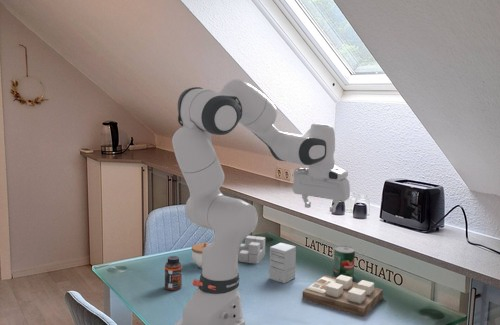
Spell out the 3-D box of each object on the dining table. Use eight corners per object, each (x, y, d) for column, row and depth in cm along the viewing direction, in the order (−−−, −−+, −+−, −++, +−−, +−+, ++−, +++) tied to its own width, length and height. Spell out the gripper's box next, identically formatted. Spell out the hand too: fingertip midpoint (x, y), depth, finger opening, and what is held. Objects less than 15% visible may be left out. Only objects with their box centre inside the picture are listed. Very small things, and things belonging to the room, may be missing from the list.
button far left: (347, 290, 170) (347, 281, 169) (335, 287, 172) (335, 278, 172) (351, 286, 173) (352, 277, 173) (340, 283, 176) (340, 274, 175)
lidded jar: (206, 258, 205) (206, 237, 204) (223, 265, 198) (223, 243, 196) (186, 264, 198) (186, 242, 196) (203, 272, 190) (203, 249, 189)
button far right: (369, 296, 165) (369, 287, 165) (356, 292, 168) (357, 283, 167) (373, 291, 169) (374, 282, 168) (361, 288, 171) (362, 279, 171)
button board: (363, 317, 156) (364, 307, 155) (302, 299, 168) (302, 290, 167) (382, 297, 170) (383, 288, 170) (324, 282, 182) (325, 274, 182)
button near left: (337, 298, 163) (338, 289, 163) (325, 294, 166) (325, 285, 165) (342, 293, 167) (343, 284, 166) (331, 290, 169) (331, 281, 169)
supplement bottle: (173, 292, 171) (172, 261, 169) (161, 288, 175) (161, 257, 173) (185, 287, 176) (185, 257, 174) (173, 283, 179) (173, 253, 178)
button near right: (360, 304, 159) (360, 295, 158) (347, 300, 161) (348, 291, 161) (365, 299, 162) (365, 290, 162) (352, 296, 165) (353, 287, 164)
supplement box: (279, 273, 191) (280, 242, 189) (295, 278, 186) (296, 246, 184) (268, 278, 185) (269, 246, 183) (284, 283, 181) (285, 251, 179)
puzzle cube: (238, 251, 215) (239, 234, 214) (265, 254, 212) (265, 237, 211) (229, 260, 204) (229, 242, 203) (257, 264, 200) (257, 245, 199)
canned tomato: (349, 281, 184) (350, 253, 182) (329, 277, 188) (330, 249, 186) (356, 275, 190) (358, 248, 189) (337, 270, 194) (338, 244, 193)
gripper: (289, 168, 170) (289, 206, 173) (345, 175, 159) (343, 216, 162) (298, 165, 175) (297, 202, 178) (352, 172, 164) (350, 211, 167)
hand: (319, 209), depth 170 cm, fingers open, 8 cm apart
